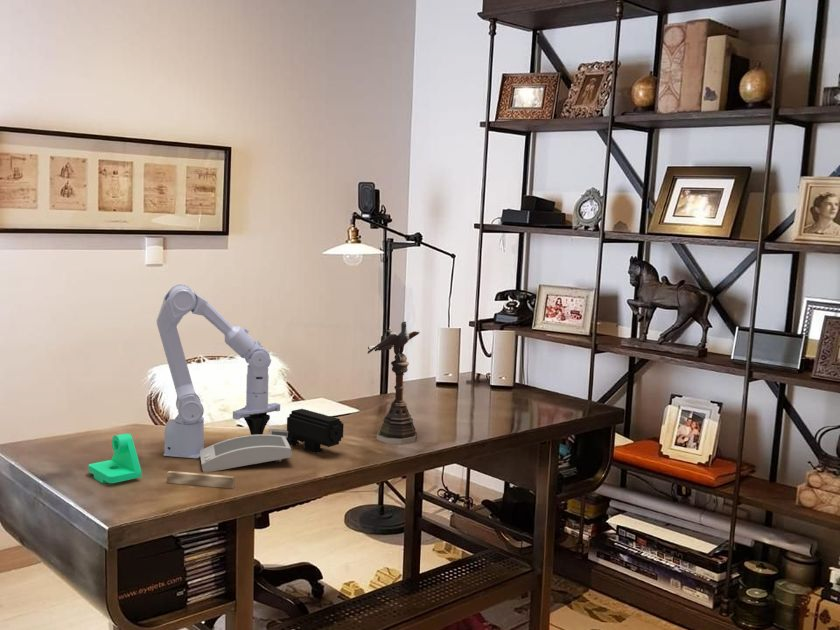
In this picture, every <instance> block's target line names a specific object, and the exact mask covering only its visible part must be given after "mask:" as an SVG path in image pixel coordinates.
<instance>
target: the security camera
mask: <svg viewBox="0 0 840 630" xmlns="http://www.w3.org/2000/svg"><path fill="white" fill-rule="evenodd" d="M286 429H287V431H288V436H287V438H286V439H287V441H288V443H289V445H290V447H291V446H292V447H294V446H298V445H300V442H301V443H304V447H303V448H304V449H303V450H304V451H308V452H311V453H314V454H319V453H322V452H323V448H321V446H324V447H327V448H330V447H334V446H337V445H340V442H341V441H342V438H344V422H342V421H341V419H340V418H338V417H335V416H331V415H326V414H323V413H319V412H315V411H312V410H309V409H304V408H299V409H294V410H293V409H292V410H291V412H290V413H289V415H288V417H286Z"/></svg>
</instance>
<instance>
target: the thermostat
mask: <svg viewBox="0 0 840 630" xmlns="http://www.w3.org/2000/svg"><path fill="white" fill-rule="evenodd" d="M200 456H201V457H200V461H201V462H200V463H201V464H200V465H201V469H202V473H210V472H218V471H222V470H228V469H233V468H234V469H235V468H238V467H244V466H249V465H250V466H251V465H257V464H262V463H267V462H272V461H273V462H274V461H275V463H278V462H282V460H285V459H289V458H293V452H292V448H291V445H289V443H288V441H287V439H286V437H285V436H280V435H269V433H268V434H267V433H266V434H264V433H263V434H258V435H251V434H248V435H242V436H236V437H231V438H229V439H224V440H222V441H218V442H215V443H214V444H211V445H209V446H207V447H204V449H203V450H201V451H200Z"/></svg>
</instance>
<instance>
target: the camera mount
mask: <svg viewBox="0 0 840 630" xmlns="http://www.w3.org/2000/svg"><path fill="white" fill-rule="evenodd" d="M134 442H135V441H134V440H133V436H132V435H131V434H130V433H128V432H127V433H122V434H116V435H114V436H113V437H112V439H111V447H112V451H113V454H112V457H111V459H108V460H103V461H99V462H98V461H97V462H93V463H89V464H88V472H89V473H90V474H92V475H93V479H94V480H96V481H97V482H99V483H101V484H106V483H108V484H116V483H120V482H126V481H129V480H135V479H139V478H142V467H141V464H140V461H139V457H138V453H137V450H136V446H135V443H134Z"/></svg>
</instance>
